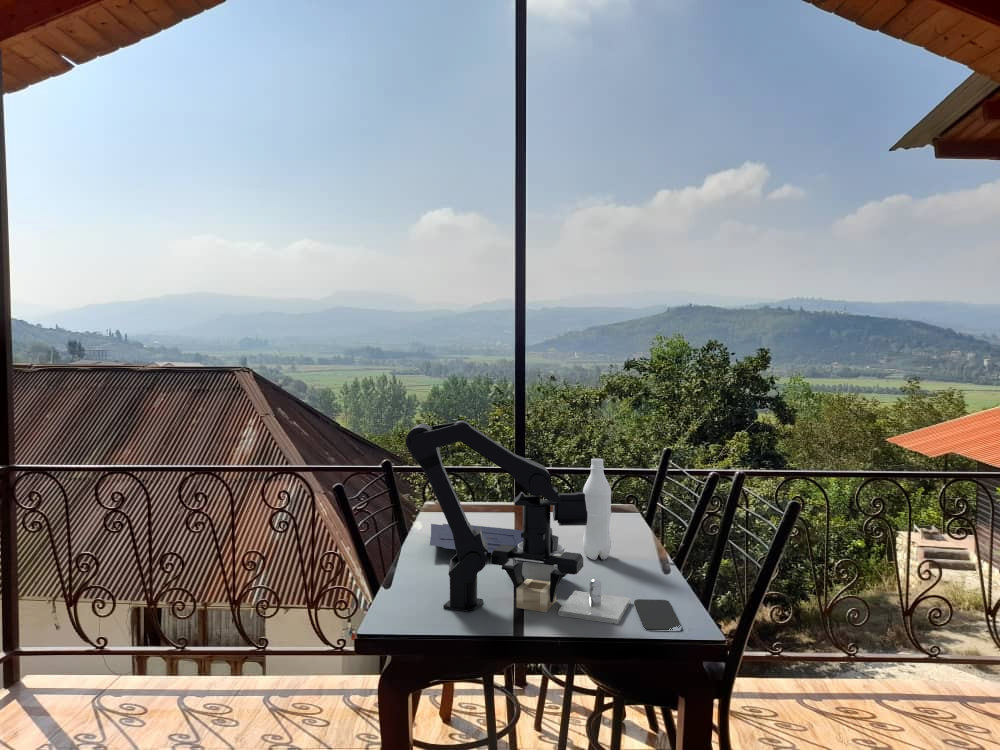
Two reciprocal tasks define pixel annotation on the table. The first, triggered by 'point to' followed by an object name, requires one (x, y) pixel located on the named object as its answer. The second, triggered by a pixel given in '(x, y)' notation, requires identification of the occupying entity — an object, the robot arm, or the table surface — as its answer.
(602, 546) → the water bottle
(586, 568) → the table surface
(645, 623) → the phone
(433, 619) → the table surface
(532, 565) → the teacup
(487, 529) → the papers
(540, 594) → the collar
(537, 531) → the robot arm
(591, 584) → the stand
